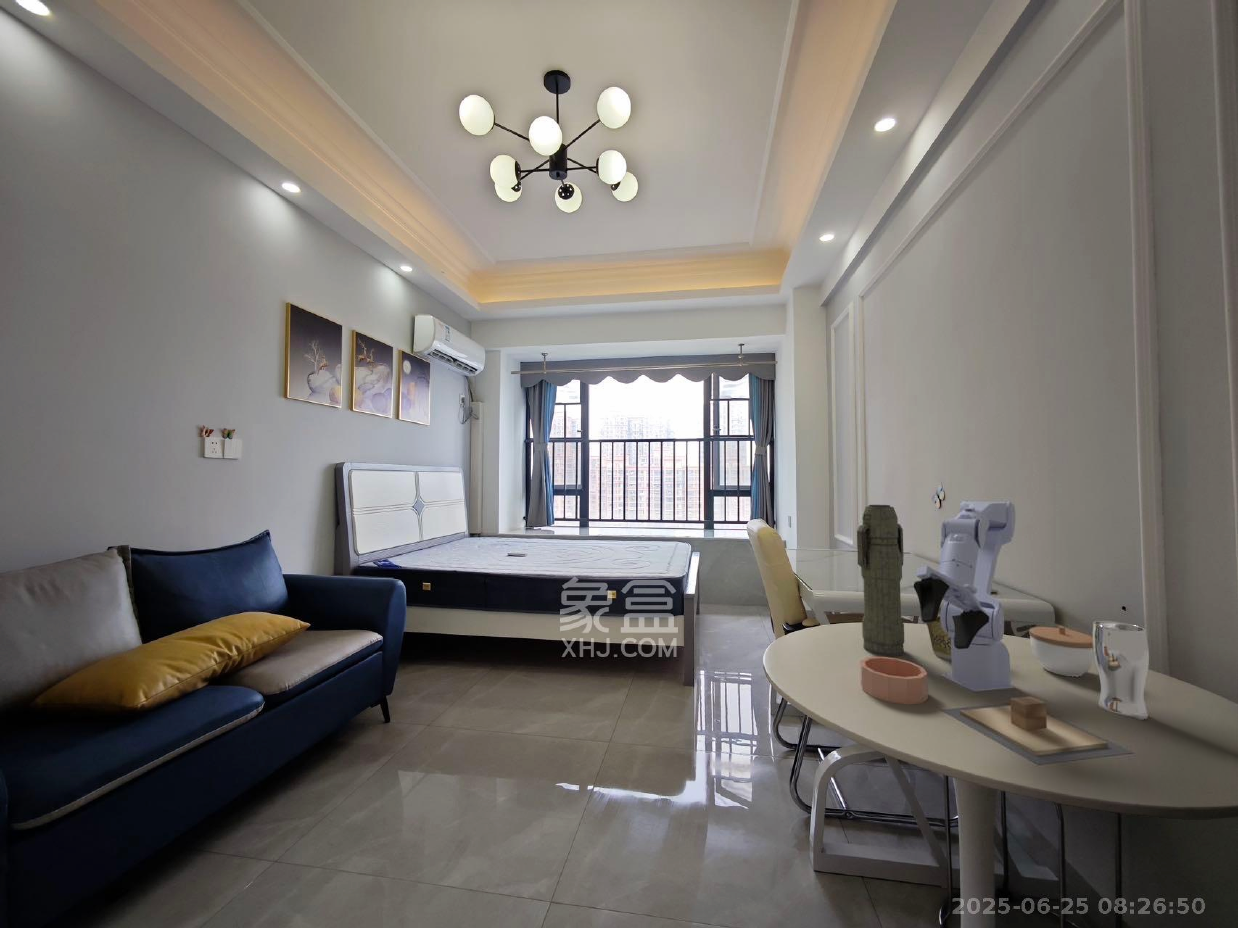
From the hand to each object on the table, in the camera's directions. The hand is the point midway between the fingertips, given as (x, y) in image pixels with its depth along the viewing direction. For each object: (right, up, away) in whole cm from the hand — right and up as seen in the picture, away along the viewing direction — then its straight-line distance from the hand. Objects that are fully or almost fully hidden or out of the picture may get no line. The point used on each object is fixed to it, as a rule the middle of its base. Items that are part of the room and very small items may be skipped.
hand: (944, 634), depth 84 cm
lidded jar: (+39, -15, +20) cm, 46 cm away
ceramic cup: (+23, -16, +31) cm, 41 cm away
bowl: (-3, -15, +10) cm, 18 cm away
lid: (+10, -14, -5) cm, 18 cm away
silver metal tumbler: (+33, -14, +2) cm, 36 cm away
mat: (+10, -14, -5) cm, 18 cm away
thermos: (+8, -16, +34) cm, 39 cm away
